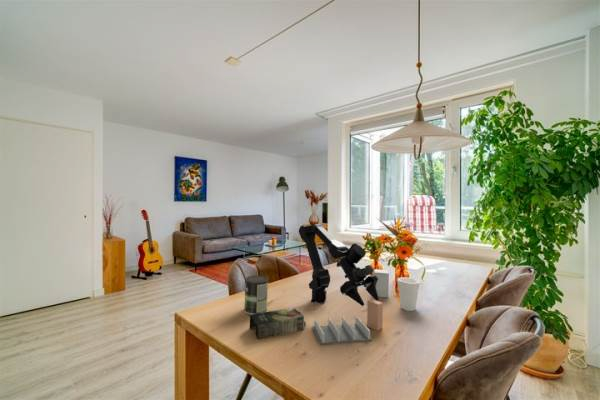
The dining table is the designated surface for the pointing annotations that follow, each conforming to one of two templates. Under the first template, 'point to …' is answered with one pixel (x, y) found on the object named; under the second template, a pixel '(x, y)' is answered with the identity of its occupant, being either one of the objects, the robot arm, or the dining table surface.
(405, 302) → the foam cup
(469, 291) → the dining table surface
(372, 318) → the salmon rectangular block
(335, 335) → the rack
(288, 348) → the dining table surface
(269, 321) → the juice carton
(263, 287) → the coffee can
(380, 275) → the supplement box
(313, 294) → the robot arm
